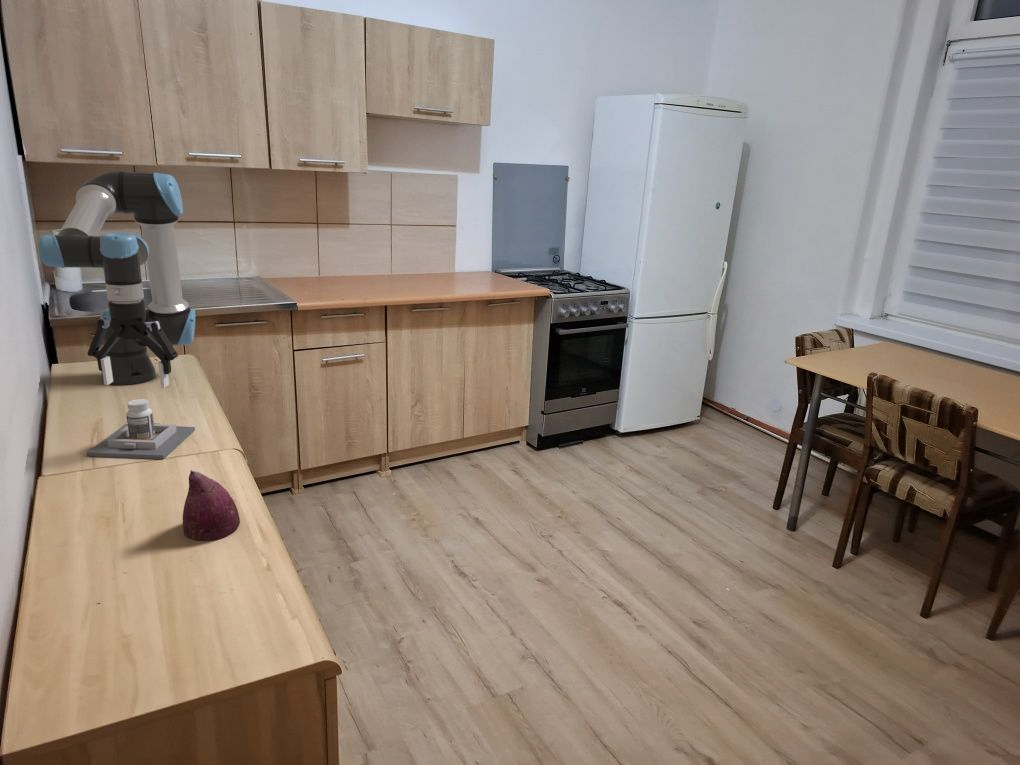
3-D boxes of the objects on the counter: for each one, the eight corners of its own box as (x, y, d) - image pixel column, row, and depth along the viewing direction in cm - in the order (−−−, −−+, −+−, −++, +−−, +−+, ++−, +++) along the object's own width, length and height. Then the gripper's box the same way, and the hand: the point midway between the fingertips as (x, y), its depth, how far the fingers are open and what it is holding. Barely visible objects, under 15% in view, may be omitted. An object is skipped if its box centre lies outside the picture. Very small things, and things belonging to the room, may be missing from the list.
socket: (125, 427, 176) (124, 417, 175) (195, 430, 177) (194, 420, 176) (87, 456, 159) (85, 445, 158) (163, 459, 160) (162, 448, 159)
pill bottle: (138, 433, 170) (134, 397, 167) (160, 435, 170) (155, 399, 167) (124, 442, 165) (119, 405, 162) (146, 444, 165) (142, 406, 162)
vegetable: (192, 559, 127) (164, 501, 119) (184, 527, 135) (157, 471, 127) (247, 535, 132) (223, 478, 124) (237, 506, 139) (213, 450, 131)
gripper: (62, 300, 152) (76, 387, 159) (173, 307, 153) (182, 392, 160) (81, 294, 159) (93, 377, 166) (186, 300, 160) (195, 382, 167)
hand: (137, 384), depth 163 cm, fingers open, 13 cm apart
